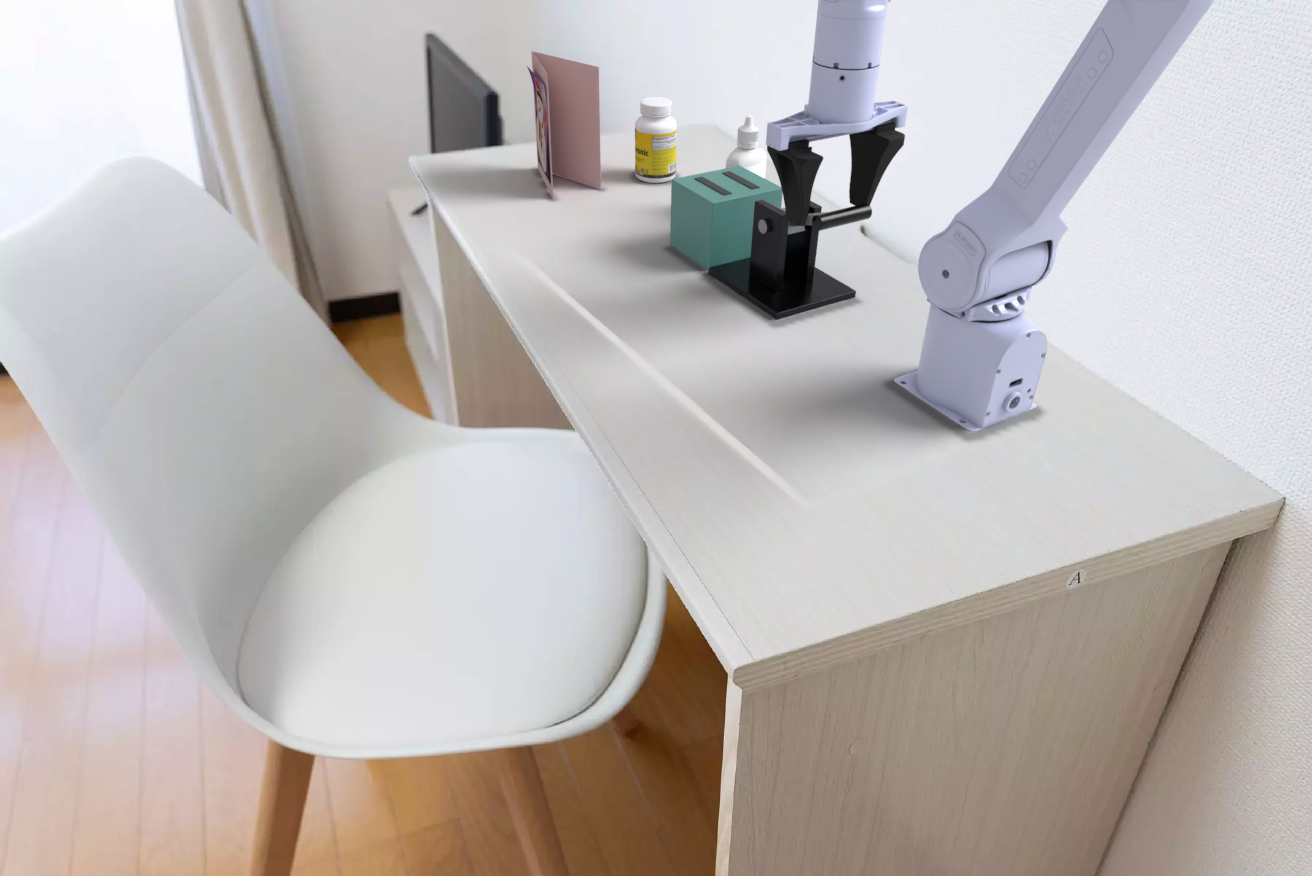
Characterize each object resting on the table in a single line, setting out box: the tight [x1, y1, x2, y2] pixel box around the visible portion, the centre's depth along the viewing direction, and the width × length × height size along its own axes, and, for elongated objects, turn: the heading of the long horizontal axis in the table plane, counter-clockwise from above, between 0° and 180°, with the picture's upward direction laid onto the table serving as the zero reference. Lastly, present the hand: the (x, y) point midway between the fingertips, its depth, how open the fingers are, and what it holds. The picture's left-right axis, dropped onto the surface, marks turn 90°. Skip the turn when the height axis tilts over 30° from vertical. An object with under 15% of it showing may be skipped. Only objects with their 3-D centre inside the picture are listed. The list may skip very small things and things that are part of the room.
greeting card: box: [526, 50, 602, 199], centre depth 121 cm, size 11×7×15 cm, turn 15°
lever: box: [781, 203, 873, 235], centre depth 93 cm, size 11×6×2 cm, turn 31°
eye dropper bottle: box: [725, 115, 767, 179], centre depth 113 cm, size 4×6×12 cm
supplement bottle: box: [634, 96, 678, 184], centre depth 125 cm, size 5×5×10 cm
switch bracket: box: [707, 200, 857, 321], centre depth 98 cm, size 12×10×9 cm
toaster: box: [669, 166, 783, 271], centre depth 105 cm, size 8×9×8 cm
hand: (828, 213), depth 91 cm, fingers open, 7 cm apart
